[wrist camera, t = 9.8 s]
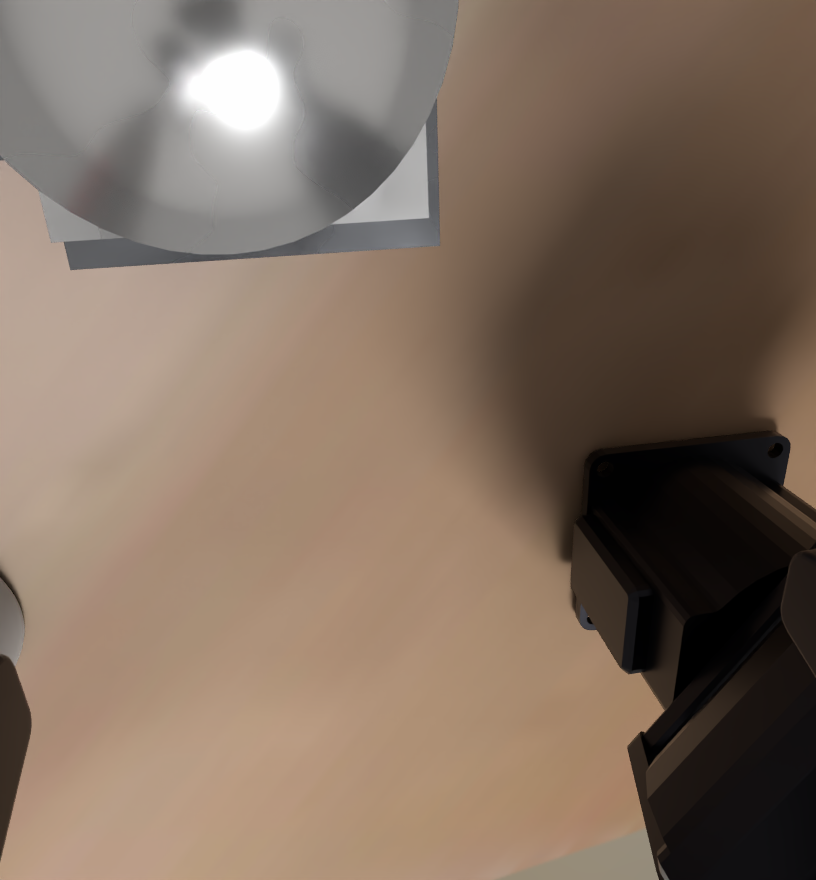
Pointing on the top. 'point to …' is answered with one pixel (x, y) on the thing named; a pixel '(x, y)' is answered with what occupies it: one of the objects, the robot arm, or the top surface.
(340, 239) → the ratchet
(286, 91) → the grey square-based fixture
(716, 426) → the top surface
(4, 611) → the lotion bottle
